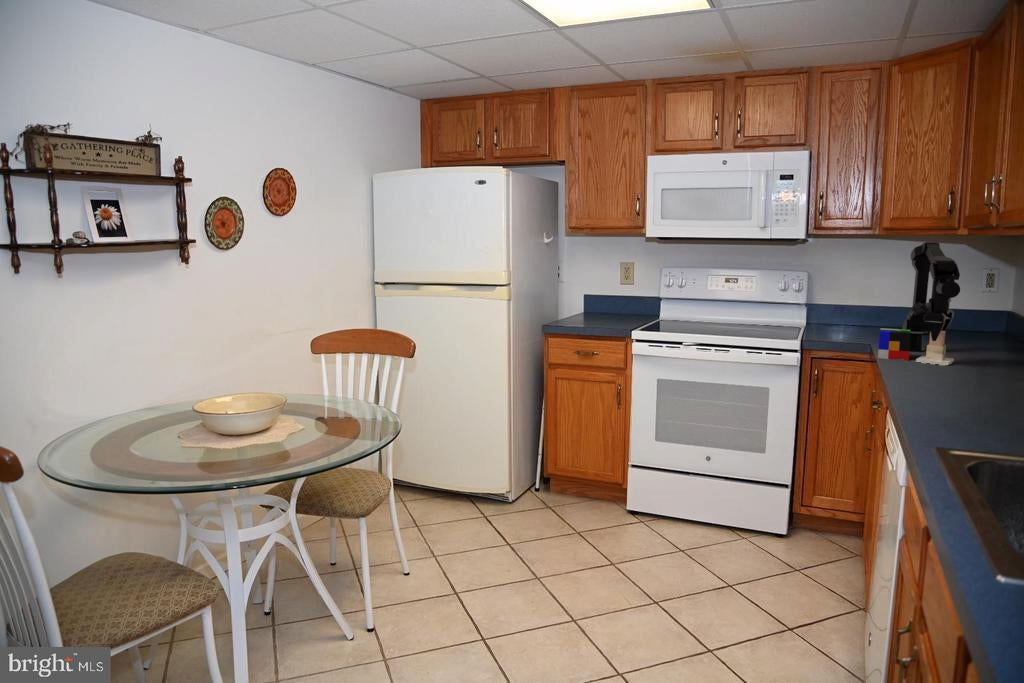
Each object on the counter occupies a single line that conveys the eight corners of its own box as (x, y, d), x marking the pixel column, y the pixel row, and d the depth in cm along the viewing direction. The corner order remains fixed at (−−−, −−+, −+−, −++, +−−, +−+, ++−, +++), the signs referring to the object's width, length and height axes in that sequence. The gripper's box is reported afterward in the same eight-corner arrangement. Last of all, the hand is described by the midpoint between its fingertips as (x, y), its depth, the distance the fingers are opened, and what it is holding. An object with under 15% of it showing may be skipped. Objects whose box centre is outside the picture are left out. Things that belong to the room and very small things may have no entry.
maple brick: (928, 357, 262) (930, 343, 261) (944, 358, 259) (946, 344, 258) (925, 359, 258) (927, 345, 258) (941, 360, 255) (943, 346, 254)
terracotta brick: (931, 343, 261) (932, 330, 260) (944, 344, 258) (945, 331, 257) (929, 345, 258) (930, 331, 257) (941, 346, 255) (943, 332, 254)
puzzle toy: (877, 358, 267) (879, 331, 266) (878, 354, 276) (880, 328, 275) (908, 360, 263) (910, 333, 261) (908, 356, 271) (910, 330, 270)
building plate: (922, 358, 266) (922, 355, 266) (953, 362, 259) (953, 358, 259) (915, 362, 258) (916, 359, 258) (948, 365, 252) (948, 362, 252)
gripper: (921, 292, 267) (917, 334, 270) (909, 296, 253) (905, 340, 256) (956, 294, 260) (951, 337, 263) (945, 297, 246) (941, 343, 249)
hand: (936, 339), depth 258 cm, fingers open, 9 cm apart
